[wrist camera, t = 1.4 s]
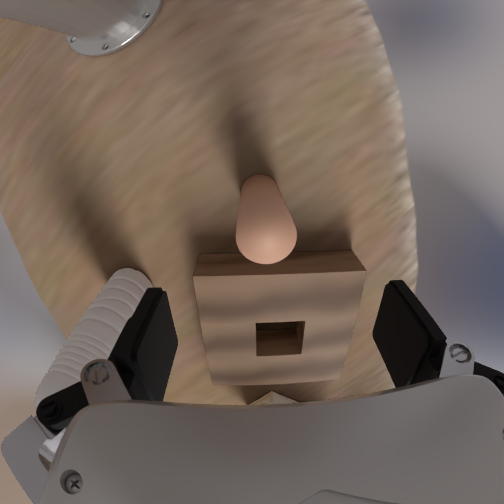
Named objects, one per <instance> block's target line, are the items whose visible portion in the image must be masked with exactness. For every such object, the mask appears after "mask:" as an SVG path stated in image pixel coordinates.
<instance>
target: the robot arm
mask: <svg viewBox="0 0 504 504" xmlns="http://www.w3.org/2000/svg"><path fill="white" fill-rule="evenodd" d="M162 2H163V0H0V18H5V19H10V20H15V21H19V22H23V23H27V24H31V25H35V26H39V27H42V28H46V29H49V30H52V31H56V32H59V33H62V34H65V35H66V40H67V42H68V44H69V46H70V47H71V48H72V49H73V50H74V51H76V52H77V53H79V54H82V55H86V56H93V57H95V56H103V55H107V54H111V53H113V52H115V51H118V50H120V49H122V48H124V47H125V46H127V45H129V44H130V43H132V42H133V41H134V40H136V39H137V38H138V37H139V36H140V35H141V34H142V33H143V32H144V31H146V30H147V28H148V27H149V26H150V25H151V23H152V22H153V21H154V19H155V18H156V16H157V14H158V13H159V10H160V8H161V6H162ZM148 16H149V17H148ZM147 17H148V18H147ZM373 339H374V341H375V343H376V345H377V347H378V349H379V351H380V354H381V356H382V358H383V360H384V362H385V364H386V367H387V369H388V371H389V373H390V376H391V378H392V380H393V382H394V385H395V387H396V388H394V389H389V390H384V391H379V392H374V393H369V394H363V395H357V396H350V397H344V398H337V399H329V400H320V401H311V402H300V403H286V404H266V405H210V404H189V403H174V402H163V398H164V394H165V390H166V387H167V383H168V379H169V375H170V371H171V368H172V364H173V361H174V357H175V353H176V350H177V346H178V339H177V335H176V331H175V327H174V323H173V319H172V314H171V310H170V306H169V301H168V297H167V293H166V291H163V290H162V288H147V289H146V291H145V293H144V295H143V297H142V298H141V300H140V302H139V304H138V306H137V308H136V310H135V311H134V313H133V315H132V317H130V318H129V319H128V320H127V322H126V324H125V326H124V328H123V330H122V332H121V334H120V335H119V337H118V339H117V341H116V343H115V345H114V347H113V349H112V351H111V353H110V355H109V357H108V359H96V360H92V361H91V362H89V363H87V364H86V365H85V366H84V367H83V369H82V370H81V374H80V378H81V381H79V382H77V383H75V384H73V385H71V386H69V387H67V388H65V389H62V390H60V391H58V392H56V393H54V394H52V395H50V396H47V397H46V398H44V399H42V401H41V402H40V403H39V404H38V406H37V410H36V414H37V416H35V417H33V416H32V415H31V416H30V417H29V418H28V419H26V420H25V421H24V422H23V423H22V424H20V426H18V427H17V428H16V429H15V430H13V431H12V432H11V433H10V434H9V435H8V436H7V437H5V438H4V440H3V441H2V445H1V451H2V454H3V456H4V458H5V460H6V462H7V464H8V465H9V467H10V469H11V470H12V472H13V474H14V475H15V477H16V479H17V480H18V481H19V483H20V485H21V486H22V488H23V489H24V491H25V492H26V494H27V495H28V497H29V498H30V499H31V501H32V502H33V503H34V504H504V374H503V373H501V372H499V371H497V370H494V369H492V368H489V367H487V366H484V365H482V364H480V363H477V362H475V361H474V359H475V357H474V353H473V351H472V349H471V348H470V347H469V346H468V345H466V344H465V343H462V342H459V341H453V342H450V343H449V344H448V345H447V343H446V342H445V341H446V339H447V338H446V336H445V335H444V333H443V332H442V331H441V329H440V328H439V326H438V325H437V324H436V322H435V321H434V320H433V318H432V317H431V316H430V314H429V313H428V312H427V310H426V309H425V308H424V306H423V305H422V304H421V302H420V301H419V300H418V299H417V297H416V296H415V295H414V293H413V292H412V291H411V290H410V288H409V287H408V286H407V285H406V284H405V282H404V281H403V280H392V281H389V283H388V284H386V286H385V289H384V293H383V297H382V300H381V304H380V308H379V311H378V315H377V318H376V322H375V325H374V329H373Z"/></svg>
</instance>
